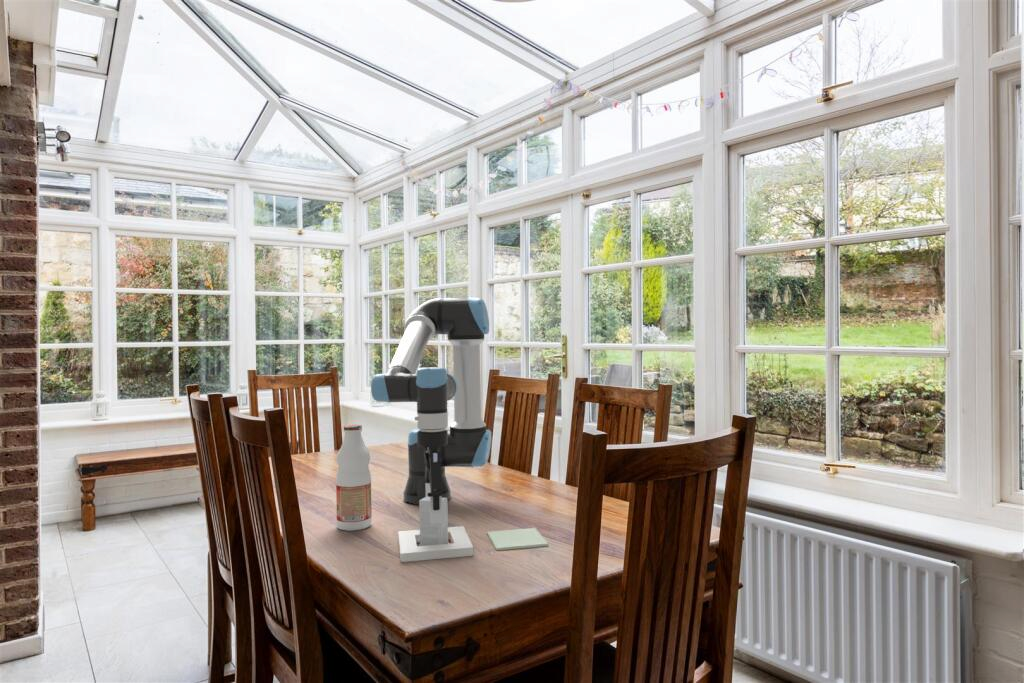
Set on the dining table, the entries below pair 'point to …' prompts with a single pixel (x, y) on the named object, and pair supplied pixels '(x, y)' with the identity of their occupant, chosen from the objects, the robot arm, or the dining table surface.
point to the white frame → (434, 546)
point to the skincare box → (432, 532)
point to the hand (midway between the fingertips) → (433, 515)
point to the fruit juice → (353, 482)
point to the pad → (516, 539)
